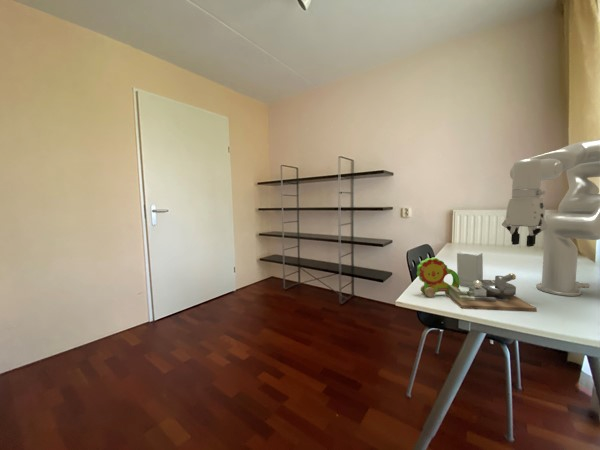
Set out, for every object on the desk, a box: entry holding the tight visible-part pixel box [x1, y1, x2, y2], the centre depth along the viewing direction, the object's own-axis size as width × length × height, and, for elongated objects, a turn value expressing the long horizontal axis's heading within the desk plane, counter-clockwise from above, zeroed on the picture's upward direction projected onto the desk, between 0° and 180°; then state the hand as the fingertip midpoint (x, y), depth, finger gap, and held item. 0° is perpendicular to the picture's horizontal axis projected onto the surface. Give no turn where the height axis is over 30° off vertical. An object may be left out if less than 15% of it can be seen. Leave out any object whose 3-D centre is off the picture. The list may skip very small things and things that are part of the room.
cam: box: [479, 273, 517, 299], centre depth 97 cm, size 12×13×8 cm
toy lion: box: [416, 256, 462, 298], centre depth 101 cm, size 16×6×15 cm, turn 87°
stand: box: [444, 286, 537, 312], centre depth 94 cm, size 23×15×5 cm, turn 80°
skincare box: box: [456, 250, 484, 288], centre depth 111 cm, size 8×6×15 cm
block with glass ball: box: [468, 280, 486, 297], centre depth 94 cm, size 4×4×6 cm
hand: (522, 244), depth 91 cm, fingers open, 3 cm apart
